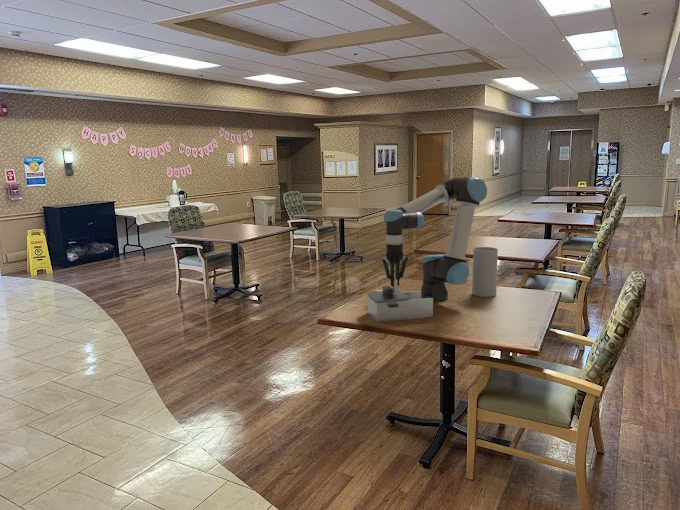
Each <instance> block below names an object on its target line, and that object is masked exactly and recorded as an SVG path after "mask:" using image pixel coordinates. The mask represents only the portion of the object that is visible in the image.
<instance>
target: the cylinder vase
mask: <svg viewBox="0 0 680 510" xmlns="http://www.w3.org/2000/svg"><path fill="white" fill-rule="evenodd" d="M498 249H499V248H496V247H493V246H492V247H490V246H478V247H474V248H472V250H473V252H472V281H471V285H472V287H471V294H472V295H473V296H475V297H480V298H493V297H495V296H496V295H497V284H498V281H497V280H498Z"/></svg>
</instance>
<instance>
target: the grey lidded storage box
mask: <svg viewBox="0 0 680 510" xmlns="http://www.w3.org/2000/svg"><path fill="white" fill-rule="evenodd" d="M401 292H402V293H403V294H405V295H406V296H408V297H409V298H410V300H403V301H392V302H381V303H377V302H376V301H374V300H373V299H372V298H371V297H370V296H368V295H367V294H366V295H367V296H366V301H367V303H366V307H367V309H366V310H367V314H368V315H369V317H371V319H373V320H374V321H375V322H376V323H384V322H385V323H386V322H395V321H403V320H404V321H405V320H414V319H423V318H424V319H425V318H432V317H434V301H433V298H422V299H421V289H420V290H410V291H401Z"/></svg>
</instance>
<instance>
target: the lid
mask: <svg viewBox="0 0 680 510" xmlns="http://www.w3.org/2000/svg"><path fill="white" fill-rule="evenodd" d="M382 290H383V291H377V292H373V291H368V292H366V295H368V296H370V297H371V298H372V299H373V300H374V301H376V302H377V303H381V302H392V301H403V300H410V298H409V297H408V296H406V295H405V294H403V293H402V292H403V291H400V290H399V289H397V293H393V287H392V286H390V285H386V286H382Z"/></svg>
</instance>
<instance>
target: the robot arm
mask: <svg viewBox="0 0 680 510" xmlns="http://www.w3.org/2000/svg"><path fill="white" fill-rule="evenodd" d="M487 195H488V186H487V184H486V182H485V181H484V180H483V179H482V178H481V177H474V176H472V177H471V176H467V177H466V176H465V177H463V176H456V177H452V178H450V179H448V180H445V181H443V182H442V183H440V184H437V185H436V186H435V188H434V189H432V190H430V191H429V192H427V193H425V194H423V195H421V196H419V197H417V198H414V200H411V201H410V202H407V203H406V204H404V205H402V206H400V207H398V208H396V209H388V210H386V211H385V213H384V215H383V221H384V223H385V229H386V230H385V231H386V233H385V234H386V237H385V239H386V254H385V256H384V257H383V258H380V261H381V263H382V264H383V268H384V272H385V276H386V279H388V280H390V287H391V288H392V289H393V293H397V290H398V286H399V287H400V280H401V279H402V278H404V275H405V269H406V264H407V262H408V260H409V257H407V256H405V255H404V253H403V252H404V251H403V249H404V247H403V242H404V241H403V239H404V237H403V232H404V231H403V230H413V229H419V228H422V227H423V226H424V224H425V216H424V214H423V213H424V212H425V211H427V210H429V209H431V208H433V207H435V206H437V205H440V203H447V202H448V201H455V203H456V205H457V207H456V213H455V217H454V222H453V227H452V232H451V236H450V239H449V244H448V249H447V252H446V253H444V254H441V253H440V254H430V255H429V254H427V255H425V256H423V258H422V263H421V264H422V284H421V286H420V290H421V299H422V298H433V302H443V301H446V300H448V299H449V293H448V289H447V286H446V283H447V284H449V285H456V286H458V285H462V284H463V283H464V282H466V280H468V278H469V276H470V275H469V274H470V268H469V265H468V264H467V261H468V260H467V257H466V251H467V246H468V244H469V243H468V242H469V237H470V234H471V229H472V224H473V221H474V220H473V219H474V215H475V211H476V209H477V208H479V207H480V204H481V202H483V201H484V200H485V199H486V198H487ZM387 262H388V263H389V266H388V263H387ZM400 263H401V264H400Z"/></svg>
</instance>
